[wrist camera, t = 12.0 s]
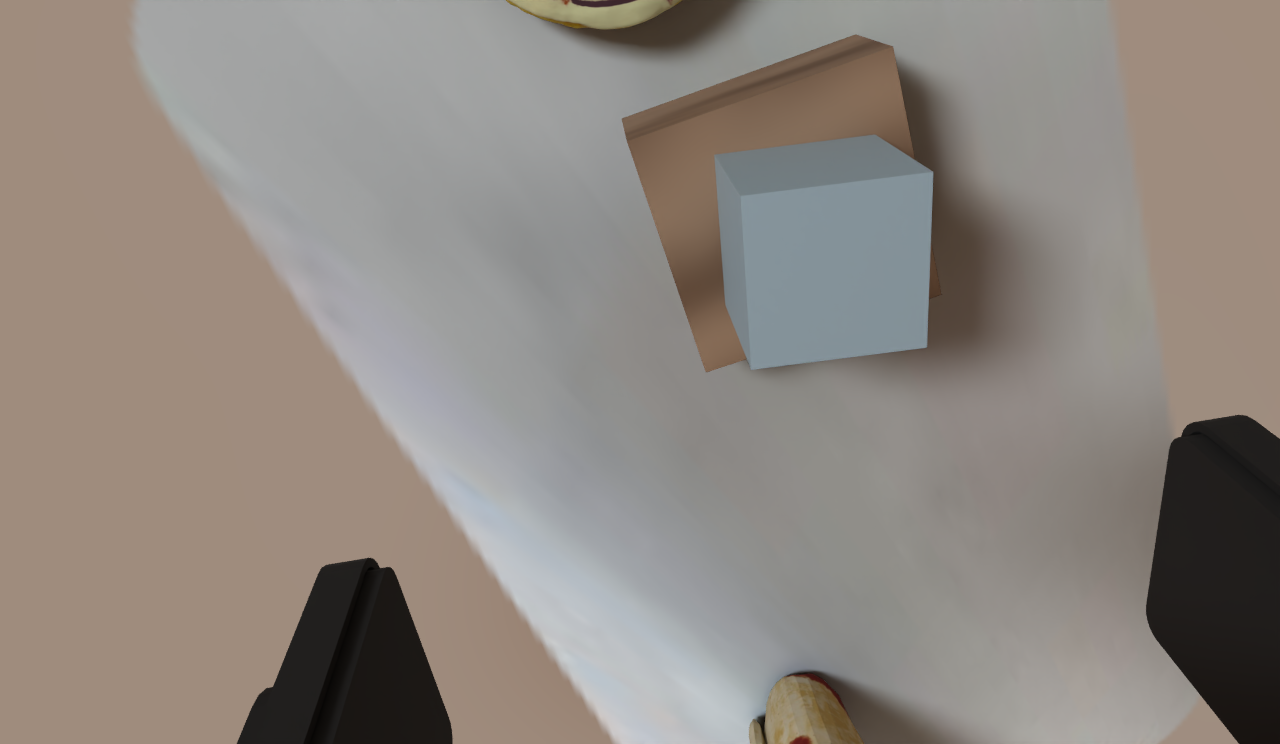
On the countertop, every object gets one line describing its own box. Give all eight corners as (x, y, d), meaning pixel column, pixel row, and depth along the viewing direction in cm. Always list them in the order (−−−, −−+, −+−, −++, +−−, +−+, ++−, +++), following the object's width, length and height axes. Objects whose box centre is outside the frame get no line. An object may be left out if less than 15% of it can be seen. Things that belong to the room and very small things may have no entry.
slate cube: (714, 154, 32) (740, 195, 27) (875, 134, 33) (933, 172, 27) (725, 304, 35) (751, 369, 30) (874, 285, 35) (927, 347, 30)
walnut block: (621, 117, 37) (627, 141, 32) (853, 33, 36) (893, 46, 31) (692, 325, 41) (706, 372, 36) (900, 255, 40) (941, 294, 36)
